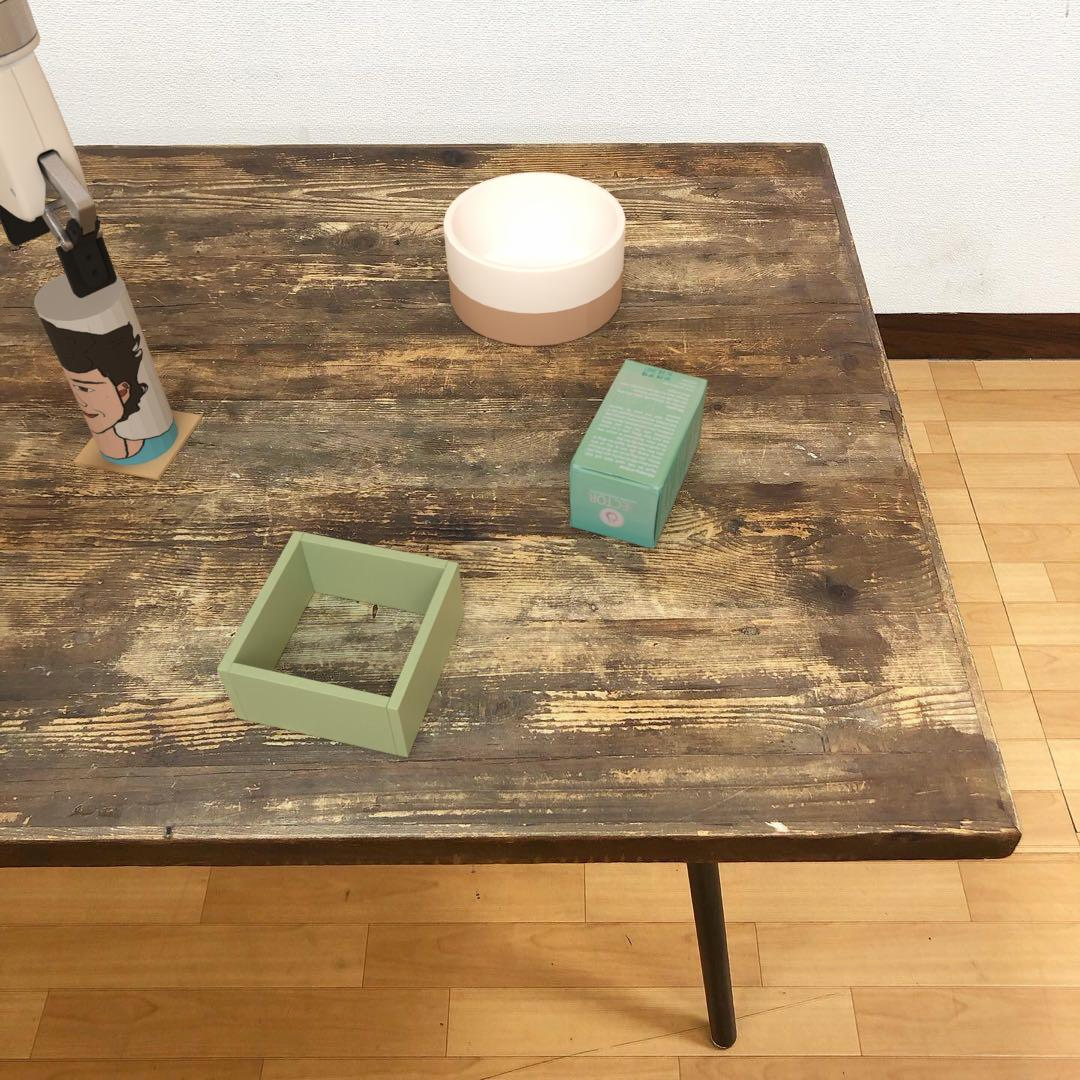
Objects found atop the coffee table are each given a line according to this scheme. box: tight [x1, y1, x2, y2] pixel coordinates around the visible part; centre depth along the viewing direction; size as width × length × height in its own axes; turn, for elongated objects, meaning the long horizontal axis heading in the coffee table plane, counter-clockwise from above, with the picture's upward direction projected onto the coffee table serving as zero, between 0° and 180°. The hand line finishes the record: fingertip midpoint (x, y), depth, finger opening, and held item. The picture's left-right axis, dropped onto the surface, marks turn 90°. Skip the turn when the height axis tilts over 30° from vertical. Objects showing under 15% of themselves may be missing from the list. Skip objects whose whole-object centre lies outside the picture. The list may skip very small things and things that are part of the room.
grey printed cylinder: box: [33, 273, 178, 465], centre depth 87 cm, size 7×7×15 cm
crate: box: [216, 530, 465, 758], centre depth 75 cm, size 13×13×6 cm
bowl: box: [442, 171, 627, 347], centre depth 103 cm, size 17×17×8 cm
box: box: [568, 359, 708, 549], centre depth 86 cm, size 7×14×8 cm, turn 159°
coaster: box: [73, 409, 203, 481], centre depth 93 cm, size 8×8×1 cm
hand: (63, 262), depth 79 cm, fingers open, 9 cm apart
